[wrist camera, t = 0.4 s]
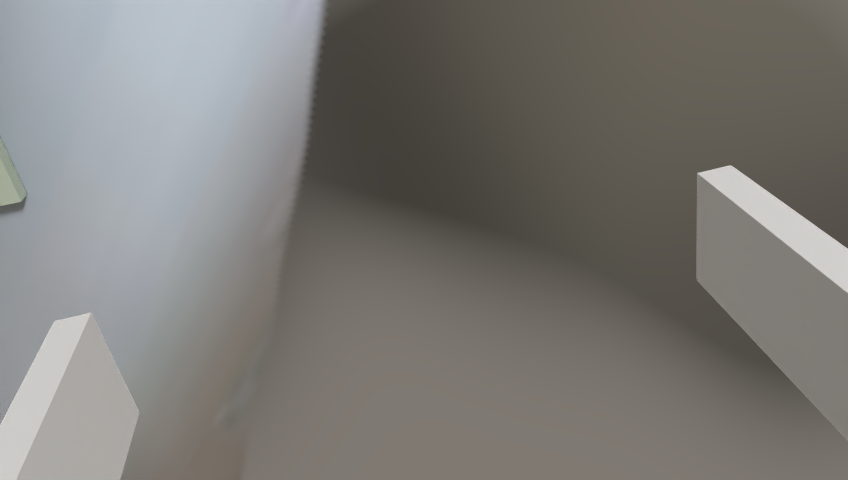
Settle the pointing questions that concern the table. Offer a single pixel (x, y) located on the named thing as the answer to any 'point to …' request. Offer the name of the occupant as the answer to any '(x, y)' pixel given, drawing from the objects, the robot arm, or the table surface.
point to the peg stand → (9, 180)
